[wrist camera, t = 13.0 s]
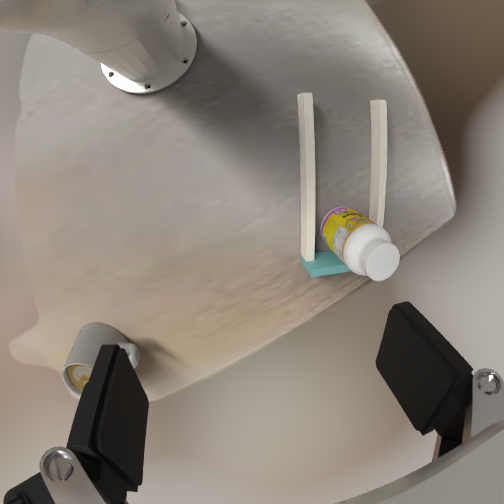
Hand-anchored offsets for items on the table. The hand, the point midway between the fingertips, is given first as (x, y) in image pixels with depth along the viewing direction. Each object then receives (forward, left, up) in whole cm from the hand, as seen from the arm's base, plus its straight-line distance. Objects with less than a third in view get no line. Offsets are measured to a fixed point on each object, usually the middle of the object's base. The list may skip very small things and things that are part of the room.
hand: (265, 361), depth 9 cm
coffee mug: (+24, -22, -31) cm, 45 cm away
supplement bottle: (+7, +17, -31) cm, 36 cm away
